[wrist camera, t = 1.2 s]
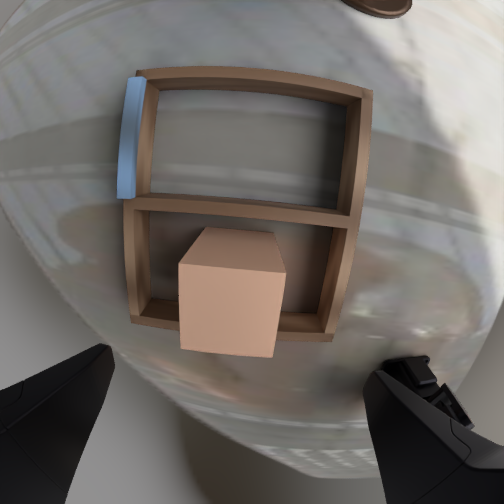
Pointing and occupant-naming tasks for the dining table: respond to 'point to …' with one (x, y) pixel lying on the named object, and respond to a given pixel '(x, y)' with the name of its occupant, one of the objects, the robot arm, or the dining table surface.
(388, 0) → the candlestick
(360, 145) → the frame
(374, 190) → the dining table surface
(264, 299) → the plug block
